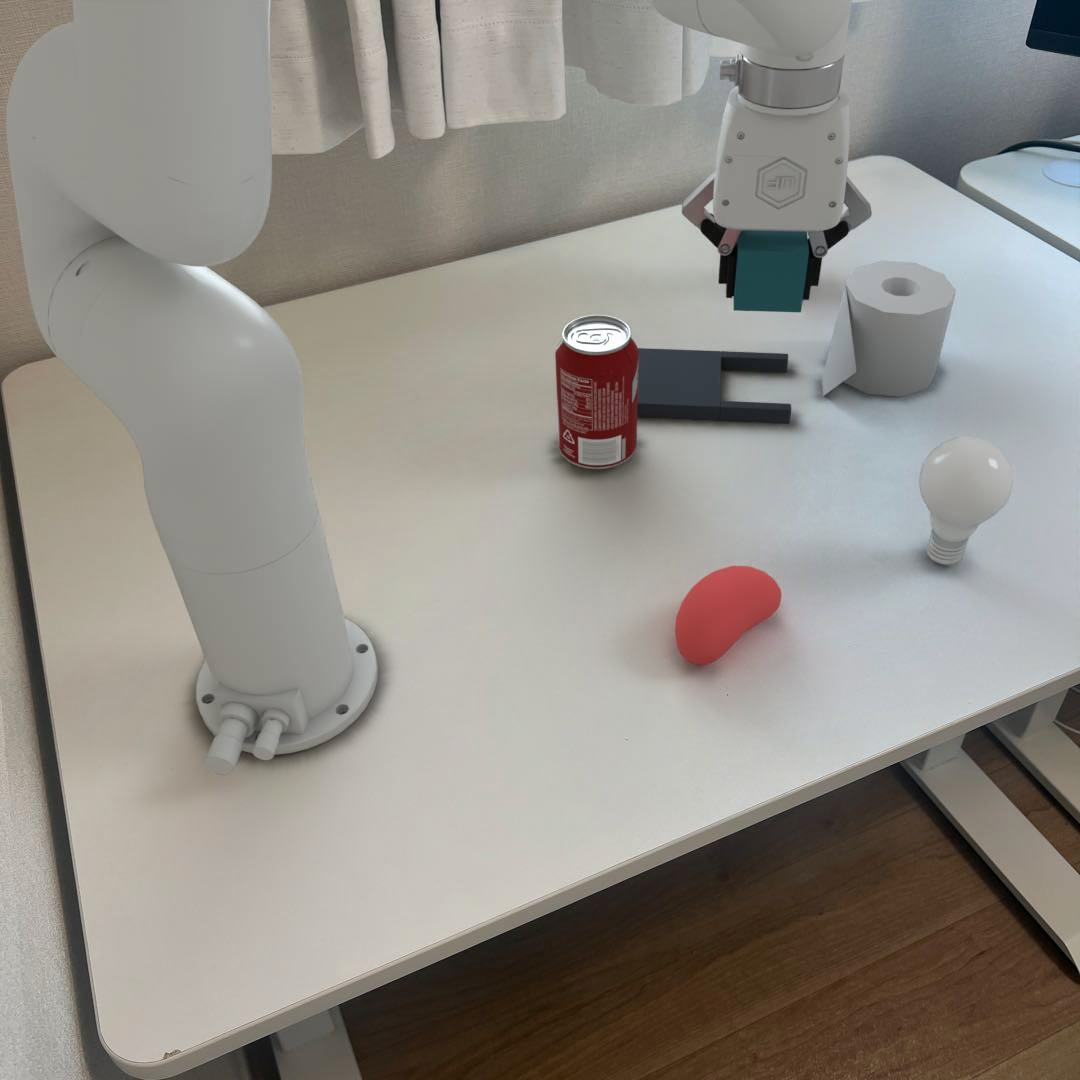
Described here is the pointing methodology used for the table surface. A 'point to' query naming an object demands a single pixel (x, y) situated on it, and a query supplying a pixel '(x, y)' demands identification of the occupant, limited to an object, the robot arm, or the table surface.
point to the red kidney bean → (723, 611)
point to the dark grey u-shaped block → (703, 385)
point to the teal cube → (771, 270)
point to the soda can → (597, 392)
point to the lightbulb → (962, 492)
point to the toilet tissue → (889, 329)
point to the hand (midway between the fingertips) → (767, 289)
